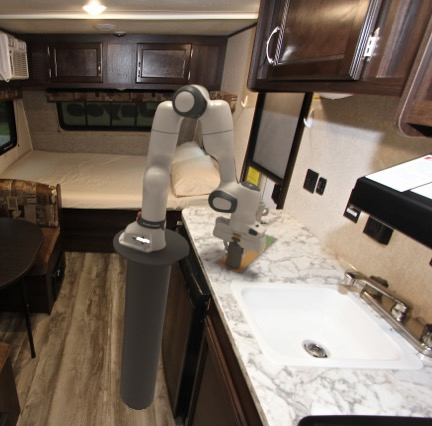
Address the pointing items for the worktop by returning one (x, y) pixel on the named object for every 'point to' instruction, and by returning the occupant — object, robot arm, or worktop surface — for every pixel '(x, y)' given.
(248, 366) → the worktop surface
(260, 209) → the cup
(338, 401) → the worktop surface
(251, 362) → the worktop surface
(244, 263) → the plate
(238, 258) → the bottle
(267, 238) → the pad
